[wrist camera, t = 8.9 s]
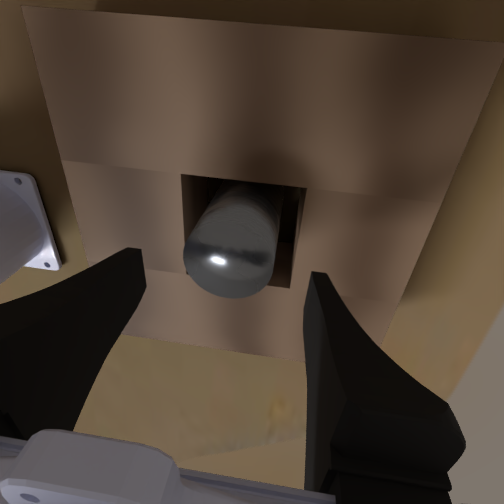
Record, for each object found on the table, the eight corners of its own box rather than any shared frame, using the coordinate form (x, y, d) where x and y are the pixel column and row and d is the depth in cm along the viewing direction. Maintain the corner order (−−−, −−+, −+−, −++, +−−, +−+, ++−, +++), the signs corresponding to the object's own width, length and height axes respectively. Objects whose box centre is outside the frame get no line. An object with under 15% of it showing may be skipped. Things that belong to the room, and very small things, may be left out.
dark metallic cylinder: (223, 218, 22) (187, 293, 15) (221, 160, 20) (178, 218, 13) (281, 223, 21) (270, 303, 15) (286, 164, 19) (276, 226, 13)
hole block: (137, 286, 26) (105, 331, 22) (92, 16, 16) (20, 5, 12) (358, 318, 25) (369, 372, 21) (452, 44, 15) (510, 43, 11)
